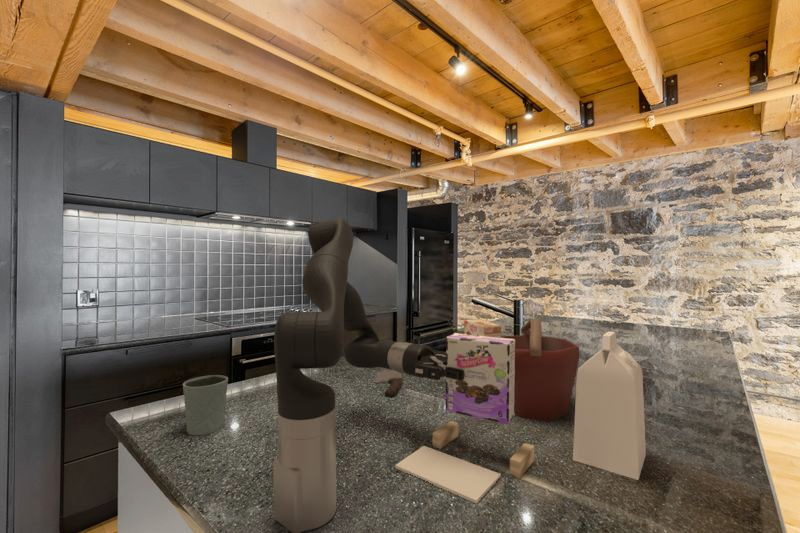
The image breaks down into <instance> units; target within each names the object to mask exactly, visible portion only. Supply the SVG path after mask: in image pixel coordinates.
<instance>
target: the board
mask: <svg viewBox="0 0 800 533" xmlns="http://www.w3.org/2000/svg"><path fill="white" fill-rule="evenodd" d="M394 468H395V469H396V470H399V471H401V472H403V473H405V474H407V473H408V475H410V474H411V475H410V476H412V475H413V476H412V477H414V476H416V477H418V478H417V479H419V478H421V479H423V480H425V481H424V482H426V481H428V482H429V483H428V482H427V483H428V484H430V483H431V484H430V485H432V484H433V486H435V487H436V488H439V489H441V488H442V489H441V490H443V491H447V492H448V491H449V492H448V493H450V492H451V493H450V494H453V495H456V496H457V495H458V497H459V498H462V499H464V500H466V501H468V502H471V503H473V504H476V505H477V504H478V503H480V501H481V500H482V499H483V498H484V496H485V495H487V493H488V492H489V491H490V490H491V489H492V488H493V486H494V485H495V484H496V483H497V482H498V481H499V480H500V479H501V478H502V475H501V473H500V472H496V471H494V470H491V469H489V468H485V467H484V466H483V467H482V466H480V465H477V464H474V463H472V462H469V461H466V460H464V459H461V458H459V457H455V456H453V455H450V454H448V453H445V452H442V451H440V450H437V449H434V448H432V447H431V448H430V447H428V446H426V445H423V446H421V447H420V448H418V449H417V450H415V451H414V452H413V453H411V454H409V455H408V456H407V457H405V458H404V459H402V460H400V461H399V462H398V463H396V464H394ZM416 477H415V478H416ZM500 477H501V478H500ZM499 478H500V479H499ZM421 479H420V480H421ZM498 479H499V480H498ZM423 480H422V481H423ZM497 480H498V481H497ZM496 481H497V482H496ZM491 487H492V488H491ZM481 498H482V499H481Z"/></svg>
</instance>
